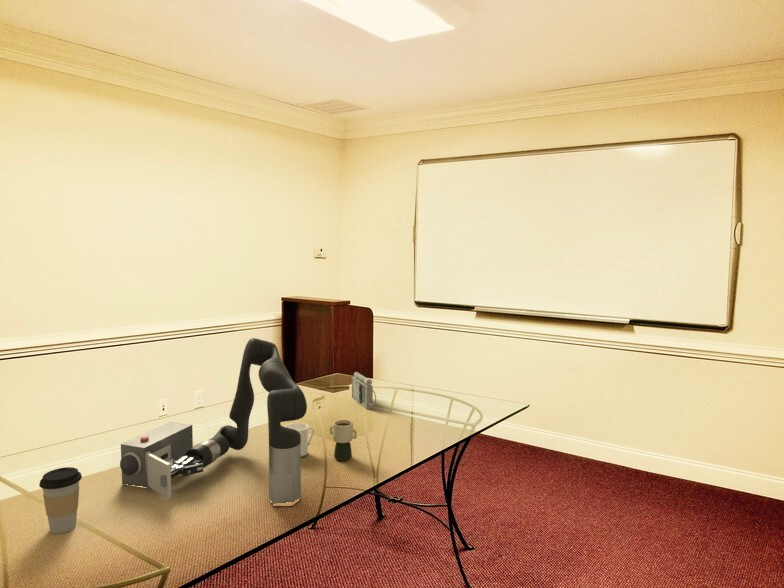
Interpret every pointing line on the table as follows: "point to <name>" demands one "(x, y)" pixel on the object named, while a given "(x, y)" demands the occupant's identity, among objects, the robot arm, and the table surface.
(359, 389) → the geiger counter
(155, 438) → the camera body
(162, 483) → the side door
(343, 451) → the character mug
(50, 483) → the coffee cup
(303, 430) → the mug
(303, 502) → the table surface
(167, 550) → the table surface
